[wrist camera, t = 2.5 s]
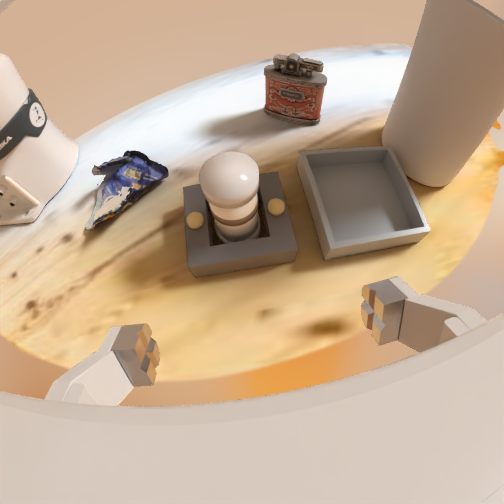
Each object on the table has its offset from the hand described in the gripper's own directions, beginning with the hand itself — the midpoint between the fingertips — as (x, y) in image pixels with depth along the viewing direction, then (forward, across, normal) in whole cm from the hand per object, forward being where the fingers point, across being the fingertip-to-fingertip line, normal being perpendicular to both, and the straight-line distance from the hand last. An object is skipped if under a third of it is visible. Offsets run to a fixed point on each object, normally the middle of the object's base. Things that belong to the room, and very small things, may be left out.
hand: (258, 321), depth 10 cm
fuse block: (+20, 0, +3) cm, 20 cm away
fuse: (+20, 0, +3) cm, 20 cm away
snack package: (+26, +14, -3) cm, 30 cm away
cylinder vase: (+26, -27, -3) cm, 37 cm away
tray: (+21, -14, +2) cm, 25 cm away
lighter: (+32, -10, -9) cm, 35 cm away
